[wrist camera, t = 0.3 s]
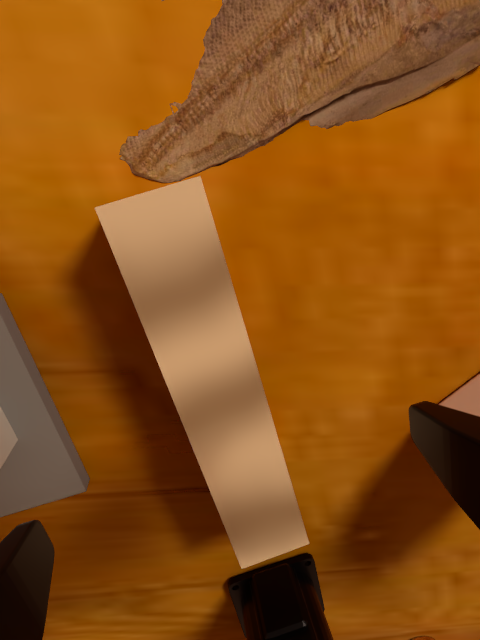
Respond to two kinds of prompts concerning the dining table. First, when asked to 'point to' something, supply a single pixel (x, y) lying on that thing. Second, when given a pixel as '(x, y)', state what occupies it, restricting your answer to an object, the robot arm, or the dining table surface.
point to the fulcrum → (31, 431)
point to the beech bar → (206, 361)
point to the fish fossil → (304, 74)
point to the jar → (466, 398)
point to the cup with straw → (423, 638)
